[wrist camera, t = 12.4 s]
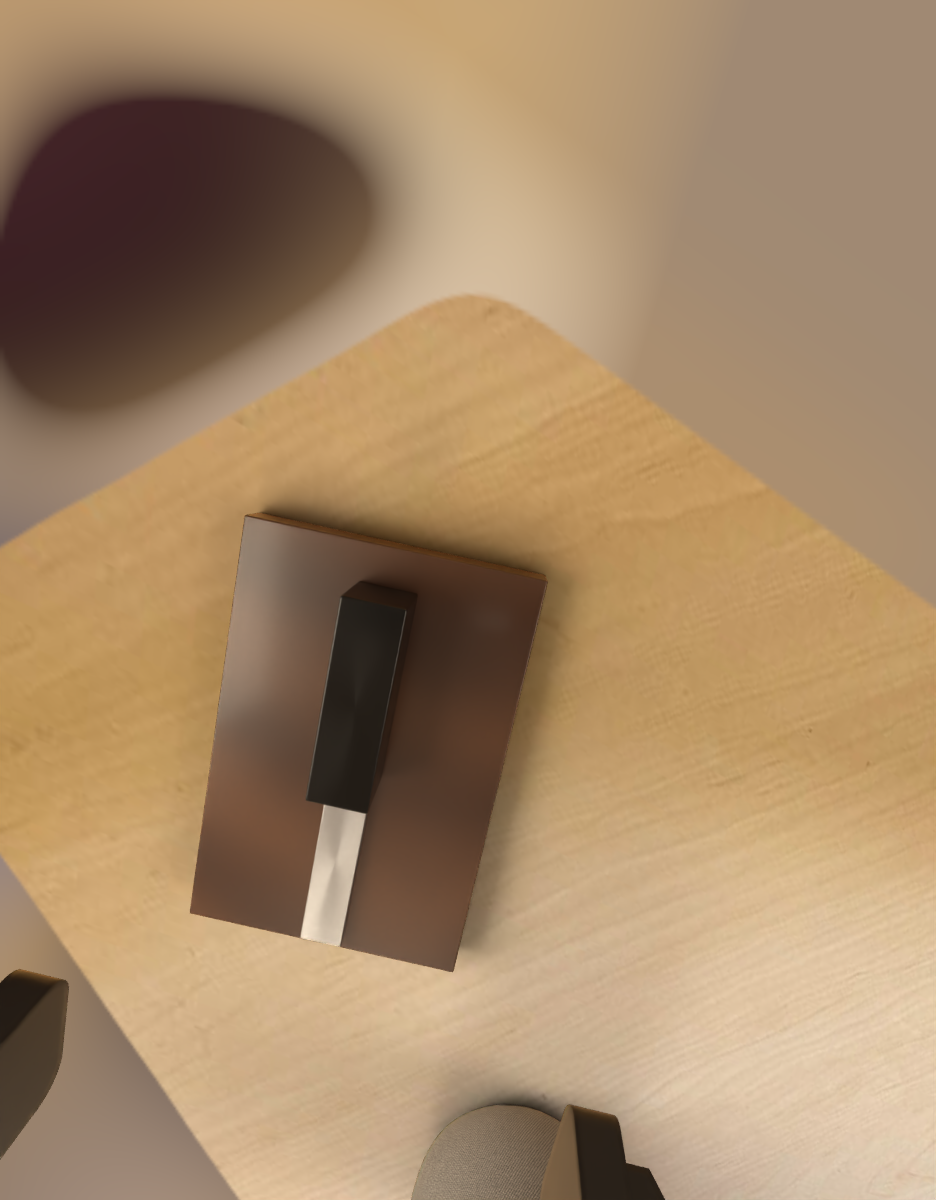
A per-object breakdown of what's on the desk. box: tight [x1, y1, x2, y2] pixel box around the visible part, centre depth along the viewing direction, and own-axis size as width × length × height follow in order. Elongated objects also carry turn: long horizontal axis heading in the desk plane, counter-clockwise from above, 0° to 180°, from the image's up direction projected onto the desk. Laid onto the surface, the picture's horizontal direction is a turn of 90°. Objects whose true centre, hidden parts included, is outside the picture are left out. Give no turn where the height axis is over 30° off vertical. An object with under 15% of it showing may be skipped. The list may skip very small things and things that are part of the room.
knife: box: [300, 581, 418, 947], centre depth 26 cm, size 16×2×3 cm, turn 168°
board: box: [190, 513, 548, 972], centre depth 28 cm, size 18×12×2 cm, turn 168°
